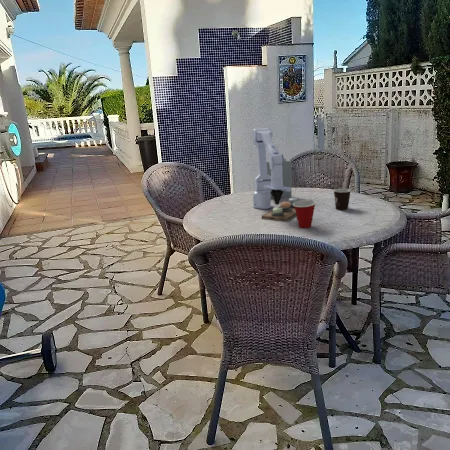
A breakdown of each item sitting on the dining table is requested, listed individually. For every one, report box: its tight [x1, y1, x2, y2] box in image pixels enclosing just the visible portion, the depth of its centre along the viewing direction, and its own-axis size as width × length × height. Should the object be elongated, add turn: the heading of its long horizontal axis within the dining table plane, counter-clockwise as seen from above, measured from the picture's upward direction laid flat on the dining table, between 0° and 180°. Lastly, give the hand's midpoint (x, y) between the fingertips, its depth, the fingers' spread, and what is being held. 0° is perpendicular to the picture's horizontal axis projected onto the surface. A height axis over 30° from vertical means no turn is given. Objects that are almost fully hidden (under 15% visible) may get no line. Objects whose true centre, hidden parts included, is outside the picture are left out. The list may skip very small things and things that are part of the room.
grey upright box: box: [264, 158, 293, 199], centre depth 260 cm, size 17×5×25 cm, turn 81°
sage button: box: [272, 207, 282, 214], centre depth 218 cm, size 5×5×2 cm
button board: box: [261, 203, 297, 222], centre depth 226 cm, size 14×27×2 cm, turn 145°
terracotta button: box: [280, 201, 291, 208], centre depth 225 cm, size 5×5×2 cm
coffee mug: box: [333, 188, 352, 211], centre depth 228 cm, size 12×9×10 cm
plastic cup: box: [293, 199, 317, 229], centre depth 200 cm, size 11×11×12 cm
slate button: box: [288, 197, 299, 204], centre depth 232 cm, size 5×5×2 cm
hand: (277, 204), depth 217 cm, fingers closed
